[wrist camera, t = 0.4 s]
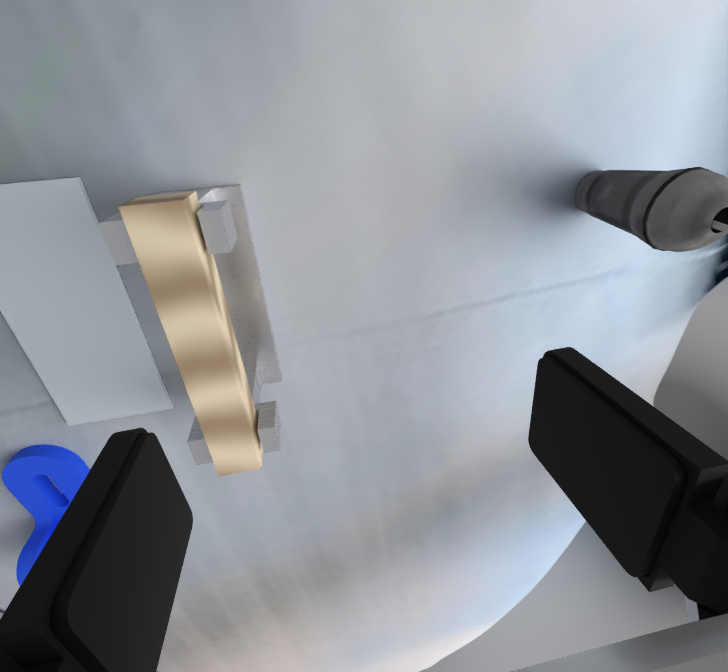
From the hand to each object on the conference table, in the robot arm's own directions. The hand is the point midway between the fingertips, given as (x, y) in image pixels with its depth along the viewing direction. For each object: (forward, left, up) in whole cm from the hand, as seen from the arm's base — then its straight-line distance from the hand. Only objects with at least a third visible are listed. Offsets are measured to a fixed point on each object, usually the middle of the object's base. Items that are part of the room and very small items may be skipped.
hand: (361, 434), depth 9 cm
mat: (+10, -26, -35) cm, 45 cm away
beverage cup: (+3, +33, -35) cm, 48 cm away
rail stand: (+10, -10, -35) cm, 37 cm away
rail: (+10, -10, -25) cm, 28 cm away
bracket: (+35, -37, -35) cm, 62 cm away
